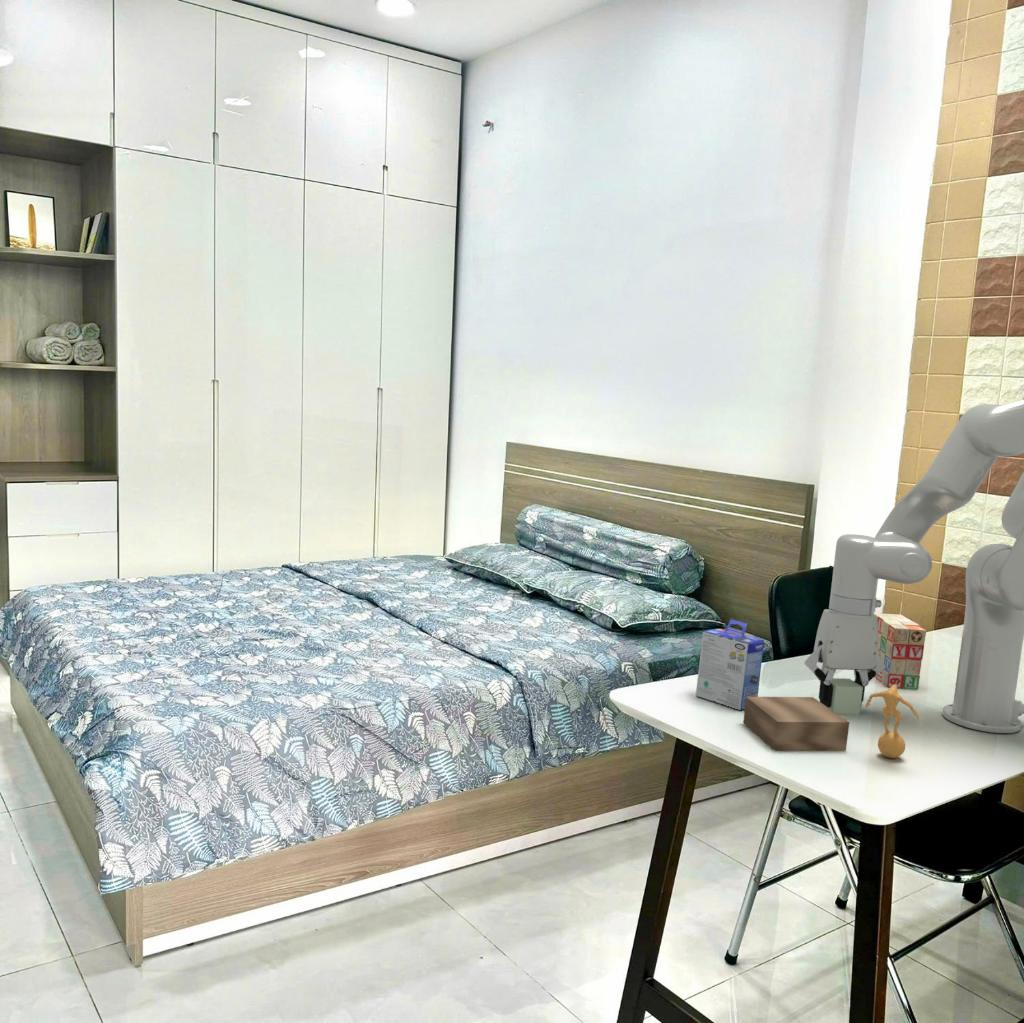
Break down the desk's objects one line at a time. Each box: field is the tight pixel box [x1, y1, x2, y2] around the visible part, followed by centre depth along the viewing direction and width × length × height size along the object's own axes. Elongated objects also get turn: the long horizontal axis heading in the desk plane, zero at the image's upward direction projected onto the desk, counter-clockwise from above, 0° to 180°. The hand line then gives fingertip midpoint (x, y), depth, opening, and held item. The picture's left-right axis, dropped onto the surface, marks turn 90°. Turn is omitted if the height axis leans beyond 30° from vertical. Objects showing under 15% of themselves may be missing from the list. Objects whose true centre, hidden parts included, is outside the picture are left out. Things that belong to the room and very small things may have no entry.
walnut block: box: [742, 696, 850, 752], centre depth 157 cm, size 12×12×5 cm
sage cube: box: [828, 677, 863, 716], centre depth 173 cm, size 5×5×5 cm
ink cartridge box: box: [695, 618, 765, 711], centre depth 172 cm, size 10×6×14 cm, turn 44°
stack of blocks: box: [874, 612, 927, 691], centre depth 198 cm, size 21×6×12 cm, turn 179°
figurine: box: [865, 685, 921, 759], centre depth 149 cm, size 8×6×12 cm
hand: (840, 704), depth 173 cm, fingers closed on sage cube, 5 cm apart
